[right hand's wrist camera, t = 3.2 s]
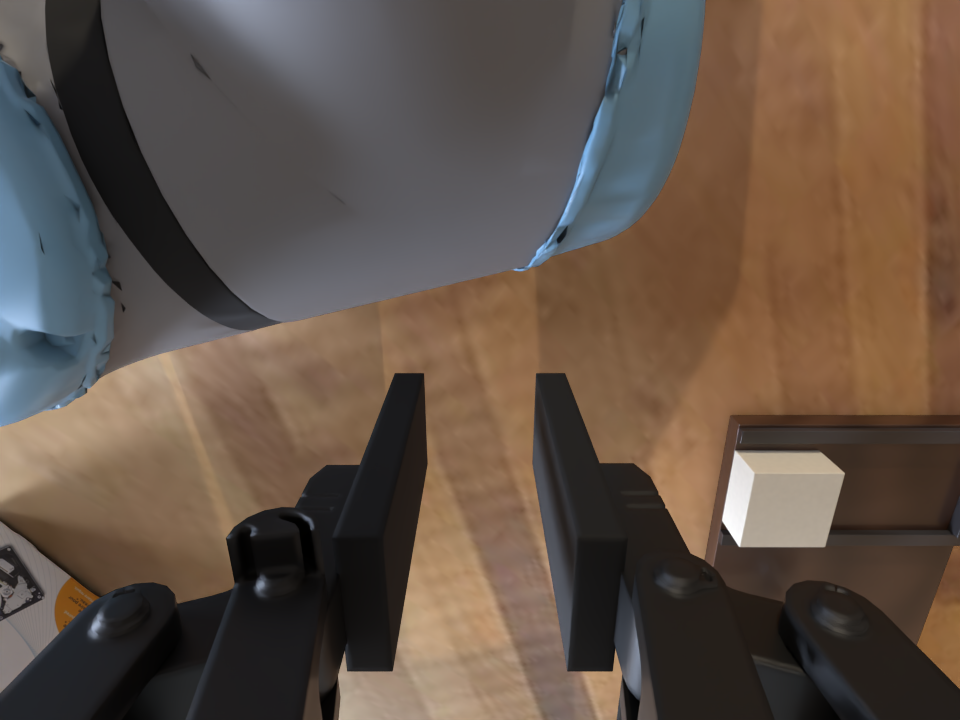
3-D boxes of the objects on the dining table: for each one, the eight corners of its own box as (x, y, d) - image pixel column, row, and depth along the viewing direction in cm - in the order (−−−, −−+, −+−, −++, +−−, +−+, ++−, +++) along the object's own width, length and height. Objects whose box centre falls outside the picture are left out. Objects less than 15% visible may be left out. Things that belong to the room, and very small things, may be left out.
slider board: (674, 726, 51) (715, 848, 42) (730, 414, 40) (802, 490, 31) (869, 727, 51) (951, 848, 42) (980, 415, 40) (1124, 491, 31)
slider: (721, 520, 41) (739, 547, 38) (734, 449, 39) (754, 473, 36) (801, 520, 41) (825, 547, 38) (819, 449, 39) (845, 473, 36)
